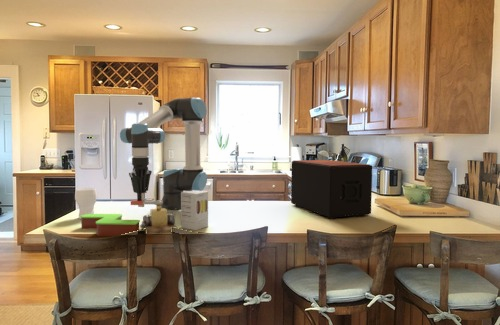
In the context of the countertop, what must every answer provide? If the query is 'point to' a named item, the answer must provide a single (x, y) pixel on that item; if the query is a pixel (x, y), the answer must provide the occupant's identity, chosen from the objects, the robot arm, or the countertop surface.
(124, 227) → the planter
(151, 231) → the board
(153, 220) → the valve
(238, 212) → the countertop surface
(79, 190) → the cup
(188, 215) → the supplement box
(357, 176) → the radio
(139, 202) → the lever
